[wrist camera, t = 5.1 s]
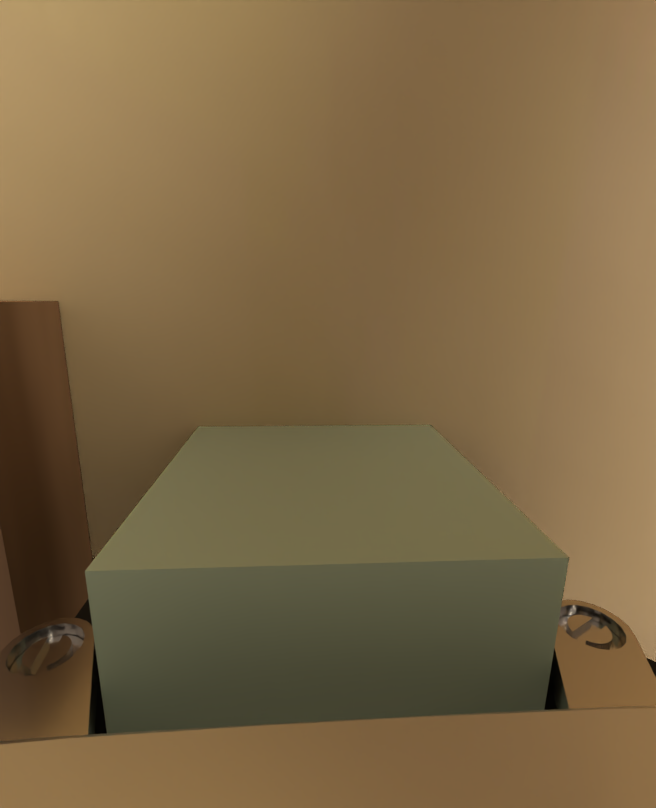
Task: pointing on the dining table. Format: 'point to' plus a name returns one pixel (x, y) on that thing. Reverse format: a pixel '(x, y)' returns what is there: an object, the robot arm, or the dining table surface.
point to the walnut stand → (38, 475)
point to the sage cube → (321, 585)
